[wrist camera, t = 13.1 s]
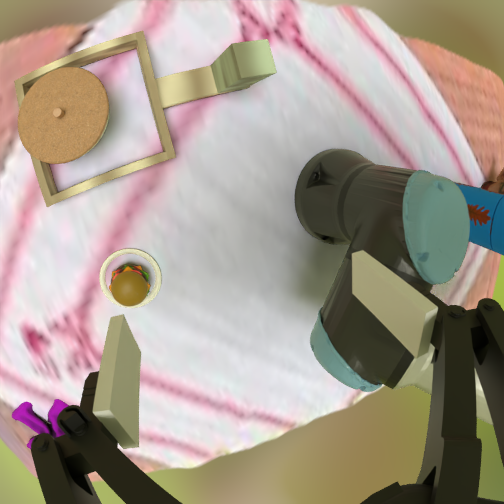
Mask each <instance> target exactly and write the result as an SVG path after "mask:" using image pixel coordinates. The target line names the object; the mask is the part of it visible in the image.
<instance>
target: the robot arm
mask: <svg viewBox="0 0 504 504" xmlns="http://www.w3.org/2000/svg"><path fill="white" fill-rule="evenodd" d="M295 206H296V211H297V215H298V218H299V220H300V222H301V224H302V226H303V227H304V228H305V230H306V231H307V232H308V233H309V234H311V235H312V236H314V237H315V238H317V239H319V240H321V241H323V242H326V243H329V244H336V245H338V244H350V246H349V249H348V251H347V254H346V256H345V258H344V261H343V263H342V265H341V268H340V270H339V272H338V274H337V277H336V279H335V281H334V283H333V286H332V288H331V290H330V292H329V295H328V297H327V299H326V301H325V303H324V305H323V307H322V308H321V309H320V310H319V313H318V319H317V321H316V324H315V326H314V328H313V331H312V333H311V337H310V344H311V348H312V351H313V352H314V355H315V357H316V359H317V360H318V362H319V363H320V364H321V365H322V367H323V368H324V369H325V370H326V371H327V372H328V373H330V374H331V375H332V376H333V377H335V378H336V379H337V380H339V381H340V382H342V383H343V384H345V385H347V386H349V387H351V388H354V389H360V390H362V391H364V392H371V391H374V390H376V389H377V388H379V387H381V386H382V384H384V385H386V386H388V387H390V388H392V389H394V390H396V389H400V388H403V387H406V386H415V387H417V388H419V389H421V390H422V391H425V392H426V393H428V394H430V395H431V405H430V415H429V424H428V432H427V438H426V445H425V451H424V457H423V463H422V467H421V471H420V474H419V476H418V479H417V482H416V484H407V485H402V486H400V485H399V483H398V482H395V483H393V484H392V485H390V486H388V487H386V488H384V489H382V490H380V491H378V492H376V493H374V494H372V495H371V496H370V497H368V498H367V499H366V500H364V501H363V502H362V503H360V504H504V502H502V501H496V500H490V499H485V498H480V497H477V495H478V487H479V479H480V467H481V452H482V443H481V439H478V438H477V437H476V424H477V423H476V422H477V418H479V419H481V420H483V421H485V422H487V423H489V424H491V425H493V426H494V430H495V434H496V438H497V442H498V446H499V450H500V454H501V459H502V463H503V466H504V311H503V309H502V308H501V306H500V305H499V303H498V302H496V301H495V300H493V299H489V298H484V299H481V300H480V301H479V302H478V306H477V308H476V309H471V310H467V311H466V310H465V309H464V308H463V307H461V306H457V305H450V306H447V305H446V304H445V303H443V302H442V301H441V300H440V299H438V298H437V297H436V296H434V295H433V294H431V293H430V291H431V288H432V286H433V284H442V283H445V282H447V281H449V280H450V279H451V278H452V277H453V276H454V272H457V271H458V270H459V268H460V266H461V264H462V262H463V260H464V257H465V254H466V251H467V246H468V242H469V233H470V218H469V214H468V207H467V203H466V200H465V197H464V195H463V193H462V192H461V190H460V189H459V187H458V186H457V185H456V184H455V183H454V182H453V181H451V180H450V179H447V178H445V177H441V176H438V175H434V174H431V173H430V172H428V171H424V170H418V171H417V170H410V169H404V168H397V167H390V166H383V165H375V164H374V163H372V162H371V161H369V160H368V159H366V158H365V157H363V156H362V155H360V154H359V153H357V152H354V151H351V150H346V149H330V150H326V151H323V152H321V153H319V154H317V155H316V156H315V157H313V158H312V159H311V160H310V161H309V162H308V163H307V165H306V166H305V167H304V169H303V170H302V172H301V174H300V176H299V179H298V182H297V186H296V191H295ZM140 363H141V351H140V349H139V347H138V345H137V343H136V341H135V339H134V337H133V334H132V332H131V330H130V328H129V326H128V323H127V321H126V319H125V317H124V314H123V315H119V316H115V317H111V319H110V323H109V327H108V332H107V336H106V341H105V345H104V350H103V355H102V360H101V365H100V370H99V371H98V372H92V373H90V374H89V376H88V377H87V379H86V380H85V384H84V388H83V389H84V390H83V393H82V398H81V403H80V407H79V406H77V405H71V406H67V407H66V408H64V409H63V410H62V411H61V412H60V413H59V415H58V417H57V424H58V426H59V427H60V428H61V430H62V431H63V432H64V433H65V434H64V435H61V436H59V437H56V438H53V437H52V436H51V435H50V434H48V433H41V434H39V435H37V436H36V437H35V438H34V439H33V441H32V443H31V452H32V457H33V461H34V464H35V468H36V472H37V476H38V479H39V482H40V486H41V489H42V492H43V495H44V498H45V501H46V504H102V503H101V502H100V500H99V498H98V496H97V494H96V492H95V490H94V487H93V486H92V483H91V481H90V479H89V477H88V475H87V474H89V473H92V472H94V471H96V472H97V473H98V474H99V475H100V476H101V478H102V479H103V480H104V481H105V482H106V483H107V484H108V485H109V486H110V488H111V489H112V490H114V492H115V493H116V494H117V495H118V496H119V497H120V498H121V499H122V500H123V501H124V502H125V503H126V504H182V503H181V502H179V501H178V500H177V499H175V498H174V497H173V496H171V495H170V494H169V493H168V492H166V491H165V490H164V489H163V488H161V487H160V486H159V485H158V484H157V483H155V482H154V481H153V480H152V479H151V478H150V477H148V476H147V475H146V474H145V473H144V472H143V471H142V470H140V469H139V468H138V467H137V466H136V465H135V464H134V463H133V462H132V461H131V460H130V459H129V458H127V457H126V456H125V455H124V454H123V453H122V452H121V451H120V450H119V449H118V448H117V445H118V443H119V445H120V446H121V447H122V448H123V449H127V448H136V447H139V386H140Z"/></svg>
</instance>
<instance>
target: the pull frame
mask: <svg viewBox="0 0 504 504" xmlns="http://www.w3.org/2000/svg"><path fill="white" fill-rule="evenodd" d="M135 48H136V49H137V53H138V57H139V61H140V65H141V70H142V74H143V78H144V82H145V86H146V89H147V93H148V97H149V101H150V105H151V109H152V112H153V116H154V120H155V123H156V127H157V131H158V134H159V138H160V141H161V145H162V148H163V152H162V153H158V154H155V155H153V156H150V157H147V158H144V159H141V160H138V161H135V162H133V163H130V164H127V165H124V166H122V167H119V168H116V169H114V170H111V171H108V172H106V173H103V174H101V175H98V176H96V177H93V178H91V179H88V180H86V181H84V182H81V183H79V184H76V185H74V186H72V187H70V188H67V189H65V190H63V191H60V192H57V189H56V185H55V182H54V179H53V176H52V173H51V170H50V166H49V163H45V162H42V161H40V160H38V159H36V158H35V157H33V156H32V155H31V154H30V155H31V159H32V162H33V166H34V169H35V172H36V176H37V179H38V182H39V185H40V188H41V191H42V194H43V197H44V200H45V203H46V206H47V207H49V206H51V205H53V204H55V203H57V202H60V201H62V200H64V199H66V198H69V197H71V196H73V195H76V194H78V193H80V192H83V191H85V190H88V189H90V188H92V187H95V186H97V185H100V184H102V183H105V182H107V181H110V180H113V179H115V178H118V177H120V176H123V175H126V174H129V173H131V172H134V171H137V170H140V169H142V168H145V167H148V166H151V165H154V164H157V163H160V162H163V161H166V160H169V159H172V158H175V157H176V155H175V152H174V148H173V145H172V141H171V138H170V134H169V130H168V127H167V123H166V119H165V116H164V112H163V109H165V108H168V107H172V106H175V105H179V104H183V103H186V102H190V101H194V100H198V99H202V98H206V97H210V96H214V95H219V94H223V93H228V92H233V91H237V90H242V89H247V88H249V87H250V85H252V84H254V83H256V82H258V81H260V80H262V79H264V78H267V77H269V76H271V75H273V74H275V73H277V71H276V68H275V64H274V60H273V56H272V53H271V49H270V46H269V42H268V39H265V40H256V41H247V42H240V43H233V44H231V45H230V46H229V47H228V48H227V49H226V50H225V51H224V52H223V53H222V54H221V55H220V56H219V57H218V58H217V59H216V60H215V62H214V63H213V64H212V65H211V66H207V67H202V68H197V69H193V70H189V71H184V72H180V73H176V74H172V75H168V76H165V77H161V78H157V79H155V77H154V74H153V70H152V66H151V61H150V57H149V53H148V49H147V45H146V41H145V36H144V32H143V31H140V32H137V33H133V34H129V35H126V36H123V37H119V38H116V39H113V40H110V41H107V42H104V43H101V44H98V45H95V46H92V47H89V48H87V49H84V50H81V51H79V52H76V53H74V54H71V55H69V56H66V57H64V58H61V59H59V60H57V61H54V62H52V63H50V64H48V65H45V66H43V67H41V68H39V69H37V70H35V71H33V72H31V73H29V74H27V75H25V76H23V77H21V78H19V79H17V80H15V81H14V82H15V88H16V94H17V99H18V104H19V109H20V107H21V104H22V101H23V99H24V97H25V95H26V94H27V92H28V91H29V89H30V88H31V87H32V86H33V84H34V83H35V82H36V81H38V80H39V79H40V78H41V77H42V76H44V75H45V74H47V73H49V72H51V71H53V70H56V69H59V68H64V67H78V68H79V67H82V66H84V65H87V64H90V63H92V62H95V61H98V60H101V59H104V58H107V57H109V56H113V55H116V54H119V53H122V52H125V51H128V50H132V49H135Z"/></svg>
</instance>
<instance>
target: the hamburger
mask: <svg viewBox="0 0 504 504" xmlns="http://www.w3.org/2000/svg"><path fill="white" fill-rule="evenodd" d="M123 254H136V255H140V256H142V257H144V258H145V259H146V260H148V261H149V262H150V264H151V265H152V267H153V268H154V271H155V276H156V281H155V285H154V288H153V290H152V291H151V293H150V294H149V295H147V294H148V292H149V288H150V286H151V285H150V284H148V281H149V280H148V277H149V275H148V273H146V272H144V271H143V270H142V268H141V266H136V265H132V264H126V265H123V266H120V267H119V268H118V269H117V270H116V271H113V272H112V279H111V285H110V286H109V289H110V291H111V292H112V293H111V292H110V291H109V289H108V288H107V285H106V281H105V273H106V269H107V267H108V265H109V264H110V263H111V261H112V260H114V259H115V258H116V257H118V256H120V255H123ZM161 279H162V278H161V271H160V269H159V266H158V264H157V263H156V261H155V260H154V259H153V258H152V257H151V256H150V255H148V254H147V253H145V252H143V251H141V250H137V249H122V250H119V251H116V252H115V253H113V254H111V255H110V256H109V257H108V258H107V259H106V260H105V262H104V263H103V265H102V267H101V270H100V275H99V281H100V286H101V288H102V291H103V293H104V294H105V296H106V297H107V298H108V299H109V300H110V301H111V302H113V303H114V304H116V305H118V306H121V307H125V308H137V307H141V306H144V305H146V304H147V303H149V302H150V301H151V300H153V299H154V298H155V296H156V295H157V293H158V291H159V290H160V286H161ZM146 296H147V297H146Z"/></svg>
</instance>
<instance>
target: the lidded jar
mask: <svg viewBox="0 0 504 504" xmlns="http://www.w3.org/2000/svg"><path fill="white" fill-rule="evenodd" d="M108 119H109V101H108V96H107V93H106V90H105V88H104V86H103V84H102V83H101V81H100V80H99V79H98V78H97V77H96V76H95V75H94V74H92V73H91V72H89V71H87V70H85V69H82V68H78V67H64V68H59V69H56V70H53V71H51V72H49V73H47V74H45V75H44V76H42V77H41V78H40V79H39V80H38V81H36V82H35V83H34V84H33V86H32V87H31V88H30V89H29V91H28V92H27V94H26V95H25V97H24V99H23V101H22V104H21V107H20V110H19V115H18V132H19V136H20V139H21V141H22V144H23V146H24V147H25V149H26V150H27V151H28V152H29V153H30V154H31V155H32V156H33V157H35V158H36V159H38V160H40V161H42V162H45V163H49V164H61V163H67V162H70V161H73V160H75V159H78V158H79V157H81V156H83V155H85V154H86V153H88V152H89V151H90V150H91V149H92V148H93V147H94V146H95V145H96V144H97V143H98V142H99V140H100V139H101V137H102V136H103V134H104V132H105V130H106V127H107V124H108Z"/></svg>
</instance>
